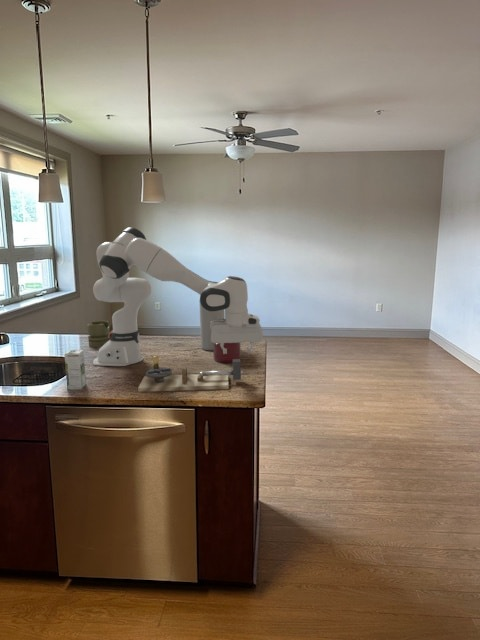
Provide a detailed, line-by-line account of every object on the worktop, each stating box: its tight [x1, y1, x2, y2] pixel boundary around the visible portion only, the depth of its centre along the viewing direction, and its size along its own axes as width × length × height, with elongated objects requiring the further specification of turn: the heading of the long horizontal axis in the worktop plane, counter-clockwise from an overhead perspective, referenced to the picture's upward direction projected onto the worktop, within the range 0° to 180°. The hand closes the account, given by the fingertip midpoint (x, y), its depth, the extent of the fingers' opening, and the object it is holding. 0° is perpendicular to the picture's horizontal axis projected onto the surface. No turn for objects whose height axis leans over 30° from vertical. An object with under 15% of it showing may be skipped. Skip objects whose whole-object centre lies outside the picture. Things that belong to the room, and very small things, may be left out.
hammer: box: [198, 358, 244, 381], centre depth 168 cm, size 17×4×7 cm, turn 92°
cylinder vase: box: [199, 299, 225, 352], centre depth 220 cm, size 12×12×25 cm
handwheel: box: [145, 355, 173, 378], centre depth 167 cm, size 10×10×6 cm
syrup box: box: [64, 349, 87, 391], centre depth 166 cm, size 6×6×14 cm
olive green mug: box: [86, 320, 111, 348], centre depth 232 cm, size 11×12×11 cm
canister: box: [212, 343, 242, 363], centre depth 200 cm, size 13×13×18 cm
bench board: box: [137, 373, 229, 393], centre depth 168 cm, size 34×14×4 cm, turn 92°
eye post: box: [181, 362, 188, 384], centre depth 168 cm, size 1×7×6 cm, turn 2°
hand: (237, 353), depth 168 cm, fingers open, 8 cm apart
